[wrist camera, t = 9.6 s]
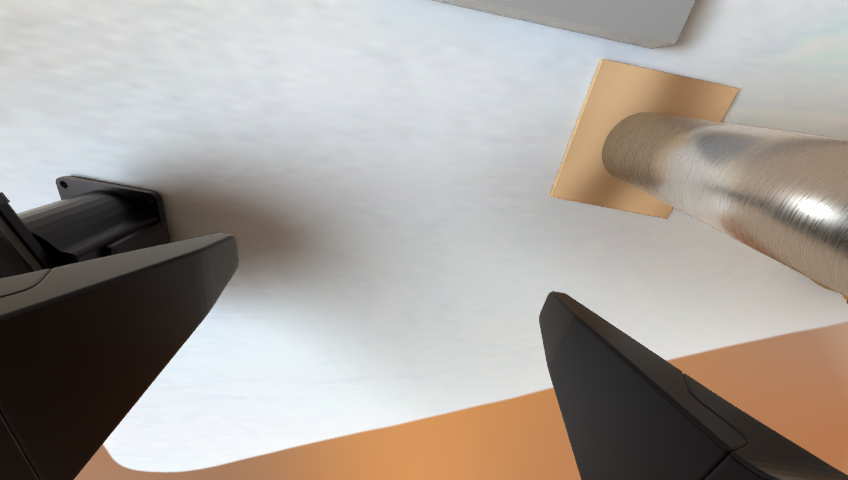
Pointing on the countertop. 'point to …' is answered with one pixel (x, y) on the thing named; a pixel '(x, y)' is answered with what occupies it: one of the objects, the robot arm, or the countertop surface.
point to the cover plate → (598, 17)
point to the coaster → (611, 103)
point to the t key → (745, 185)
